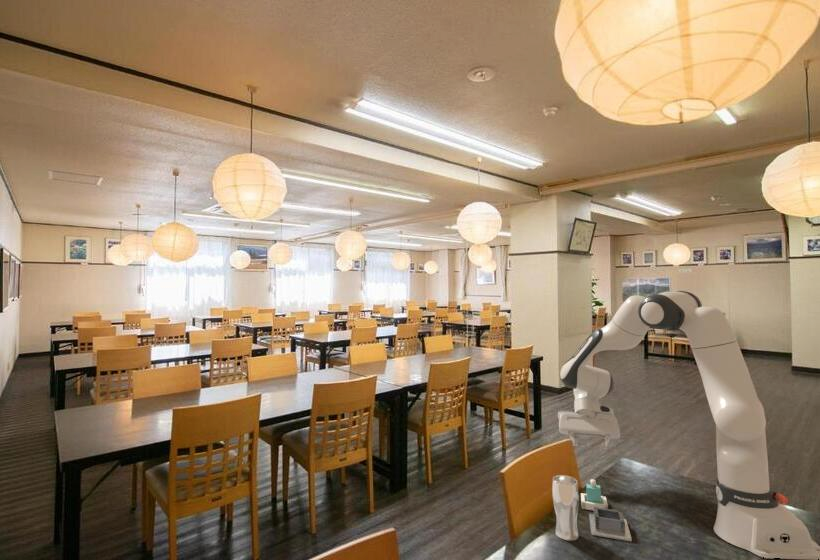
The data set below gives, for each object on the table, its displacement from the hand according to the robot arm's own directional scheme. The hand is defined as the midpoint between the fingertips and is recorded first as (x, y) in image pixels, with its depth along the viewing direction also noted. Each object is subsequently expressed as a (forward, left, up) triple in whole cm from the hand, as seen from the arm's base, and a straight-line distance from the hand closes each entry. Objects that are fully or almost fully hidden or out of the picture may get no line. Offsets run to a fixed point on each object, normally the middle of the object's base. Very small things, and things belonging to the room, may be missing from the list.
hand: (589, 447), depth 142 cm
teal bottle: (+1, +12, -14) cm, 19 cm away
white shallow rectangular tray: (+1, +12, -14) cm, 19 cm away
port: (-1, +25, -14) cm, 29 cm away
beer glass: (+11, +31, -14) cm, 36 cm away
